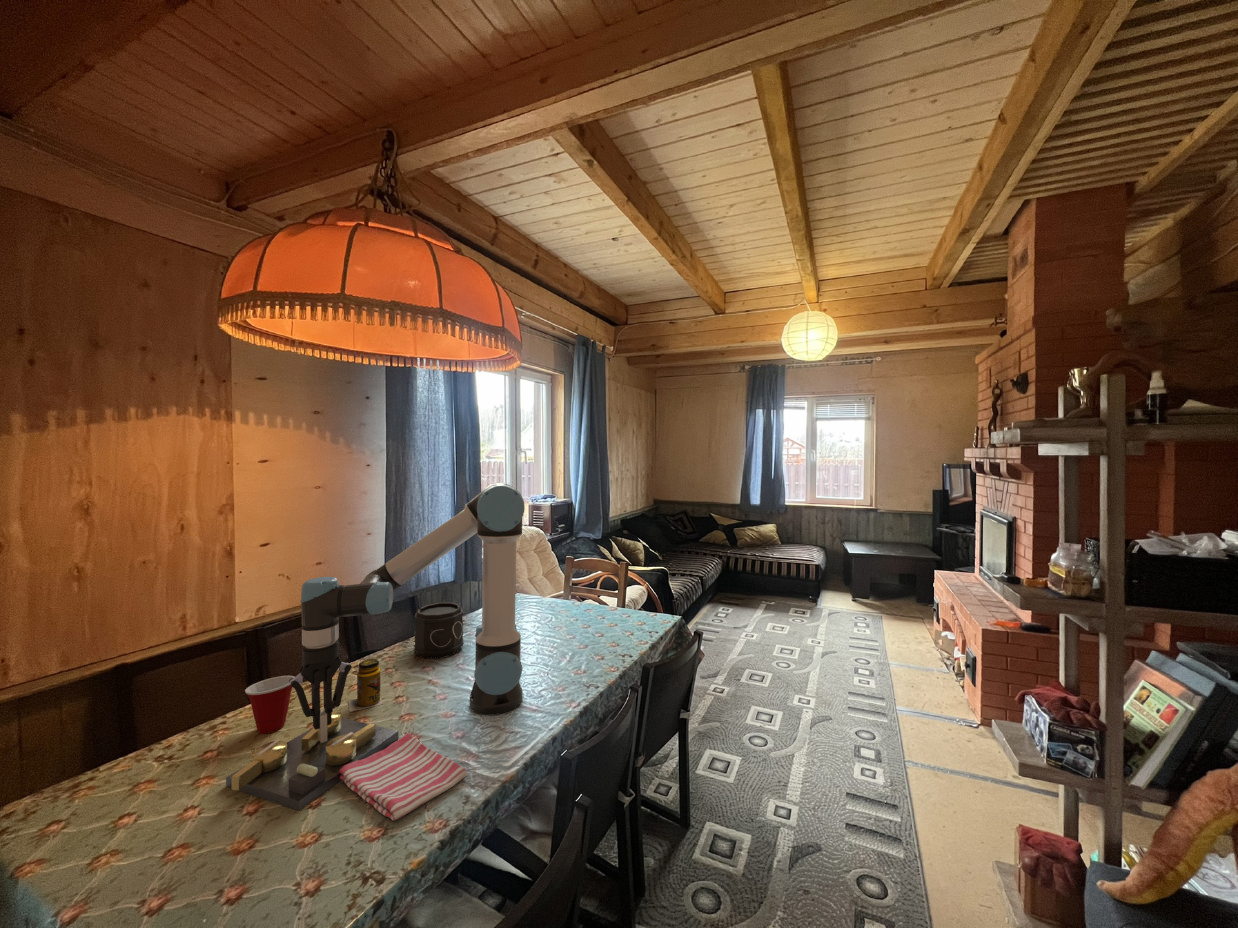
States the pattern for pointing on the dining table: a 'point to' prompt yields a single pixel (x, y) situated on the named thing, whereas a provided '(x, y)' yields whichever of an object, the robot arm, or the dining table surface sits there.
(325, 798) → the dining table surface
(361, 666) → the condiment
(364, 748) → the levelling plate
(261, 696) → the plastic cup
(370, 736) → the knob
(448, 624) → the dark lidded canister
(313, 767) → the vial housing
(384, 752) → the dish towel
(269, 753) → the knob
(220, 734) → the dining table surface
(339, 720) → the knob
